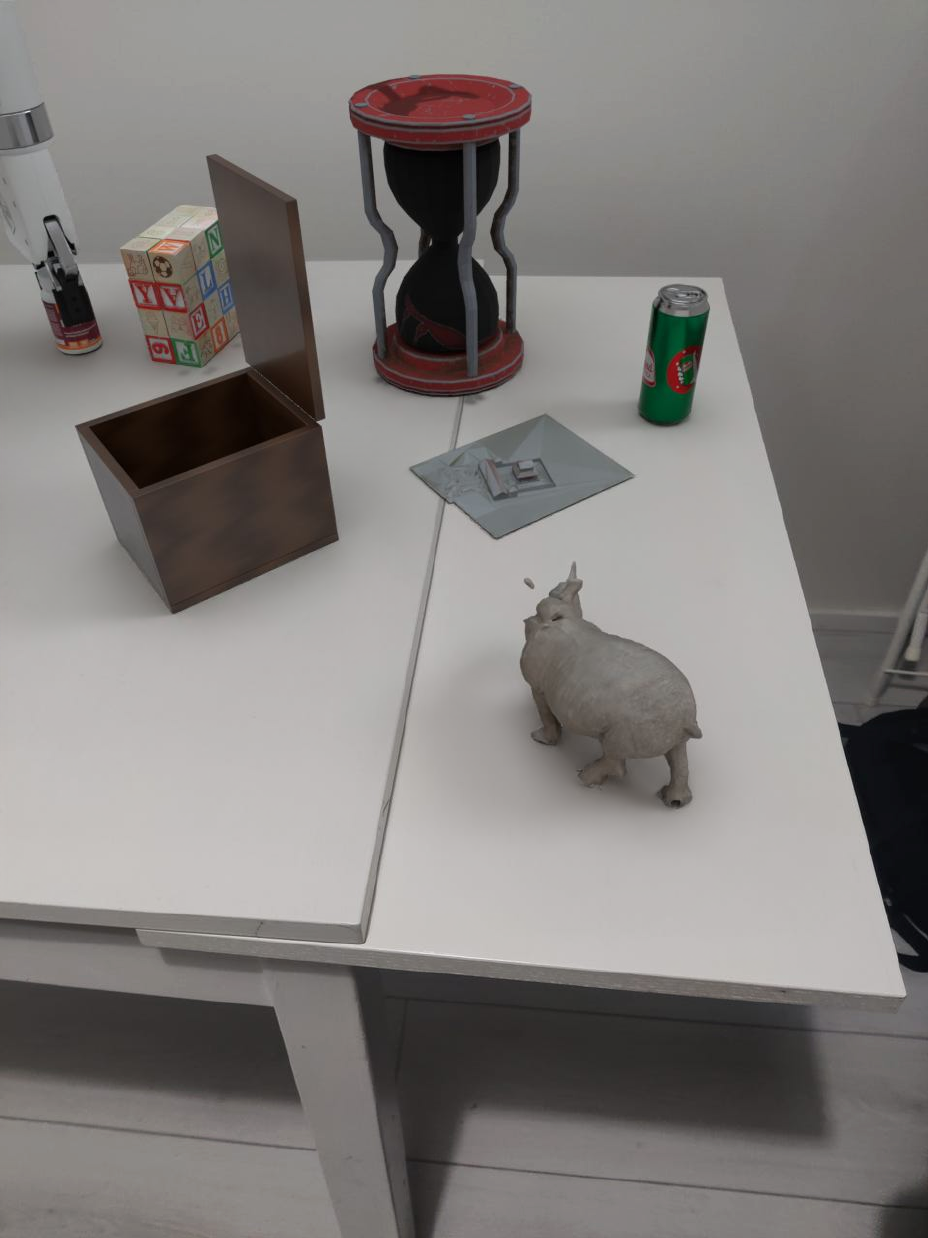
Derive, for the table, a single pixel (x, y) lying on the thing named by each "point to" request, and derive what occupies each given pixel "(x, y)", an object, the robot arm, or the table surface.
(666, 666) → the rhinoceros figurine
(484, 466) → the grey flat relief plate
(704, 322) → the soda can
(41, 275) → the pill bottle
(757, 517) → the table surface
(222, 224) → the lid
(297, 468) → the chest
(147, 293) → the stack of blocks
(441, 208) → the hourglass
